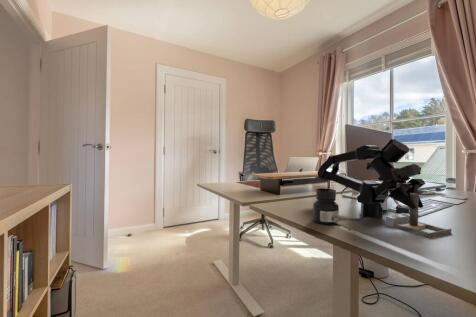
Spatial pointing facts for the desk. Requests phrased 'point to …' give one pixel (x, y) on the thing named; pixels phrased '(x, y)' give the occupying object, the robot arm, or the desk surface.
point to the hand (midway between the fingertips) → (418, 207)
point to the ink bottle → (325, 207)
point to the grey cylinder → (414, 214)
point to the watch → (401, 208)
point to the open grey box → (438, 232)
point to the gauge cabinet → (398, 219)
